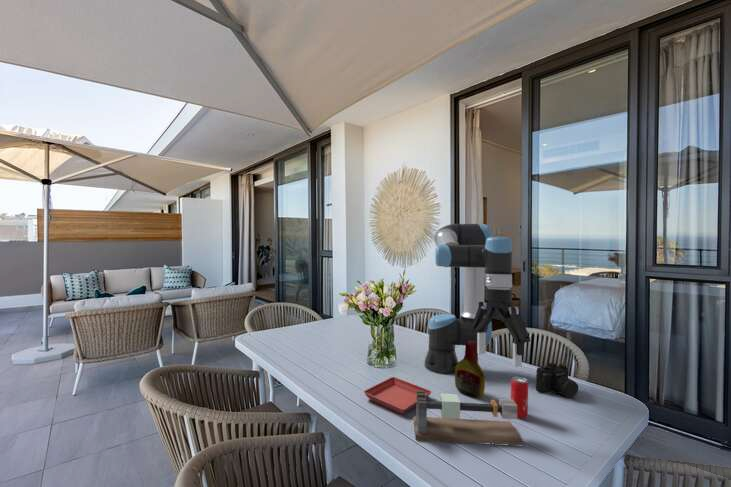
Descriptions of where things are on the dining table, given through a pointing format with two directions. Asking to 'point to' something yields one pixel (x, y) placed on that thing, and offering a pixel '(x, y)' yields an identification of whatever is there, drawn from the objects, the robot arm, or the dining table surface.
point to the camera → (555, 380)
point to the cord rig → (467, 423)
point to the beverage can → (520, 395)
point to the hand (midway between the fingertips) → (498, 359)
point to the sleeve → (450, 406)
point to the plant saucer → (395, 394)
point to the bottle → (470, 372)
